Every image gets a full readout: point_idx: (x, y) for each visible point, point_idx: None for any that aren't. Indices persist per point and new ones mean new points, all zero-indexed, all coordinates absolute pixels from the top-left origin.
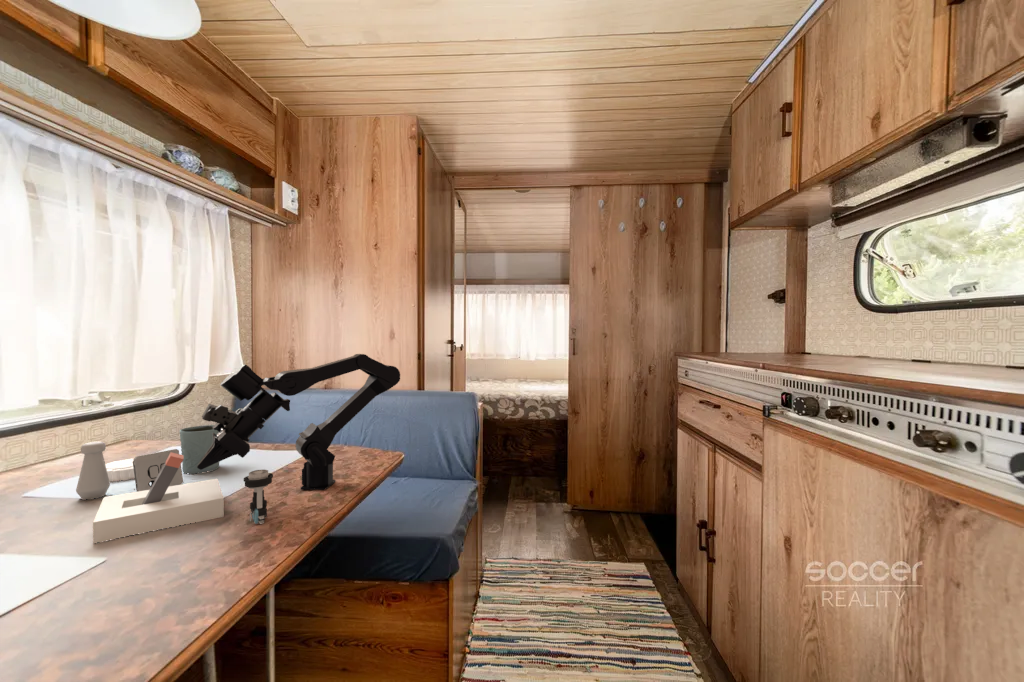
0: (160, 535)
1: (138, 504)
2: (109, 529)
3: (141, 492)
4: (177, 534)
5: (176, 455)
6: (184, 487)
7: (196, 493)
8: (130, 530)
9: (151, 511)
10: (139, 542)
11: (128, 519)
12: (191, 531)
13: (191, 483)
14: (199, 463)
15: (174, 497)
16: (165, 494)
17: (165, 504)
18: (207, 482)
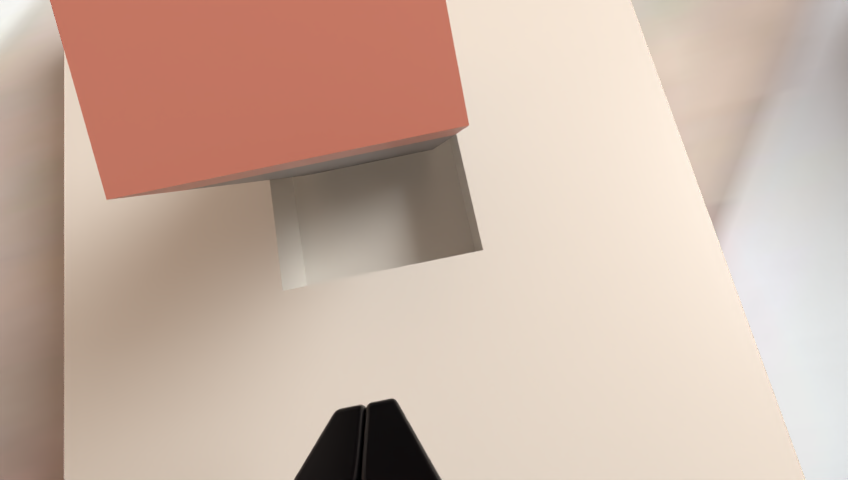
0: (59, 282)
1: None
2: None
3: (583, 1)
4: (14, 369)
5: (253, 32)
6: (597, 272)
7: None
8: None
9: (67, 177)
10: (24, 206)
11: None
12: (11, 441)
13: (715, 307)
14: (337, 444)
15: (475, 237)
16: (466, 169)
17: (172, 229)
18: (700, 455)
